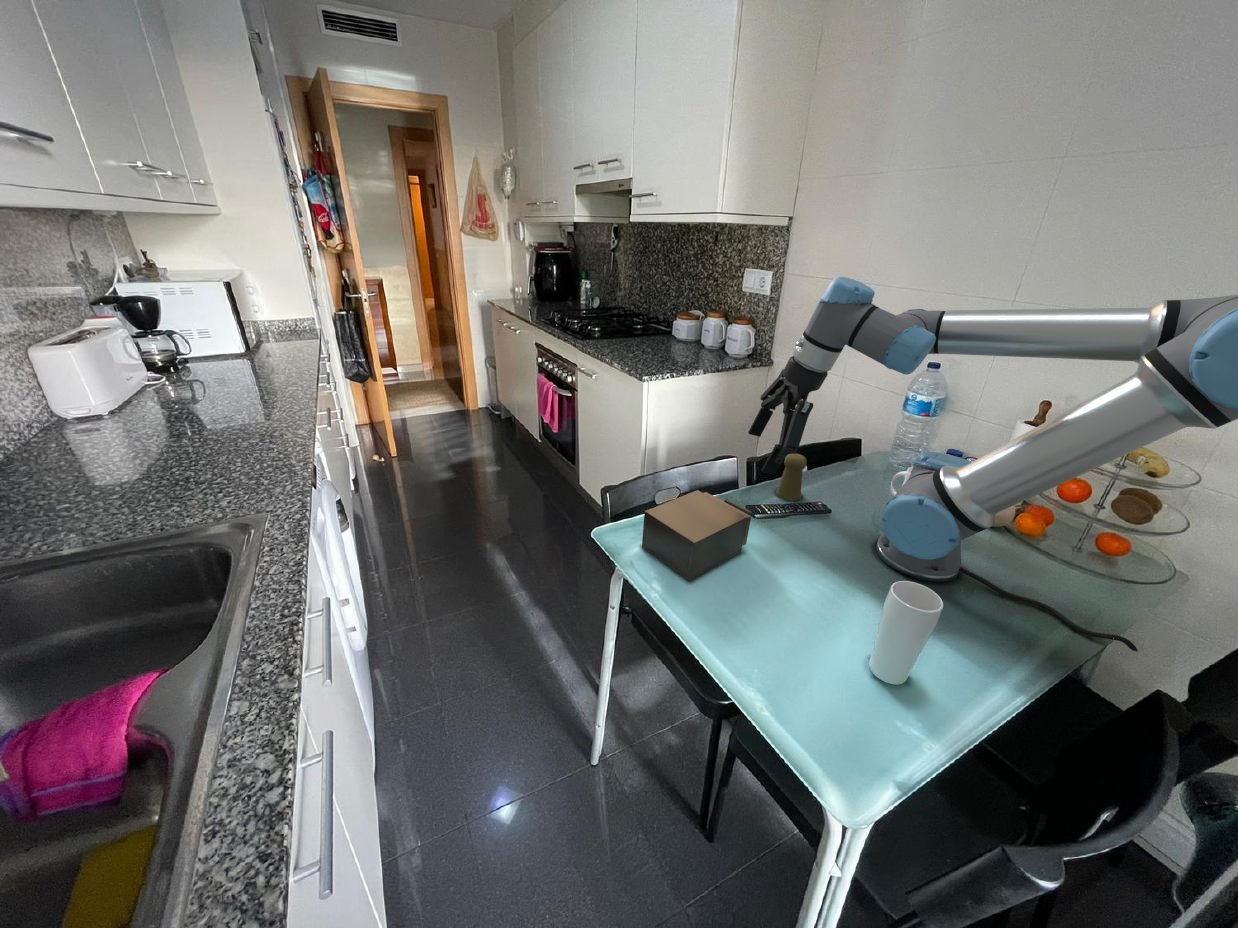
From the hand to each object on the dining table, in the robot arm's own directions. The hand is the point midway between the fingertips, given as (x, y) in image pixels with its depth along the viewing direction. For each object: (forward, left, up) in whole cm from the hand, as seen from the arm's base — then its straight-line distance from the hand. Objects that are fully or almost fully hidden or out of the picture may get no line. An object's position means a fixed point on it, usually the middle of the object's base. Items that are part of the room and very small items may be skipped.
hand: (760, 452), depth 105 cm
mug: (-19, -39, -18) cm, 47 cm away
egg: (-34, -49, -18) cm, 62 cm away
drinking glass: (-39, +16, -18) cm, 46 cm away
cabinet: (+1, +17, -18) cm, 25 cm away
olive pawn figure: (+3, -21, -18) cm, 28 cm away
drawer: (+1, +12, -17) cm, 21 cm away
